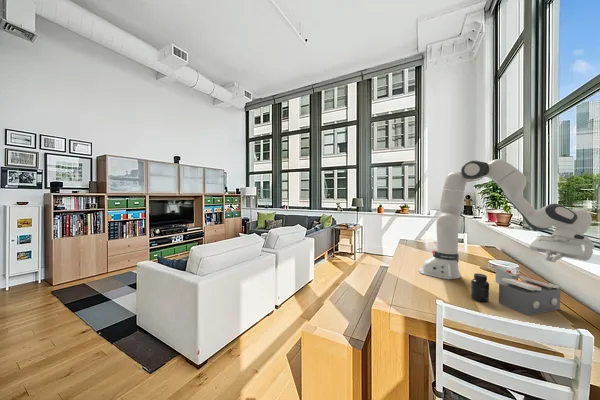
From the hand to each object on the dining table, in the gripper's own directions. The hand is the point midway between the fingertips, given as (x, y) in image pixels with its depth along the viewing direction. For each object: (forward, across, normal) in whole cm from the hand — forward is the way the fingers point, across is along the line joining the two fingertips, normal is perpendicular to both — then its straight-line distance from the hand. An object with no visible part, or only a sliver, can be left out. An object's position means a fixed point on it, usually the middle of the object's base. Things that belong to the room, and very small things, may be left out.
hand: (549, 260), depth 106 cm
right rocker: (+13, 0, +3) cm, 13 cm away
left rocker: (+20, 0, -5) cm, 21 cm away
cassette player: (+13, -18, +15) cm, 27 cm away
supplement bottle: (+34, -10, -6) cm, 36 cm away
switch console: (+23, 0, +5) cm, 23 cm away
